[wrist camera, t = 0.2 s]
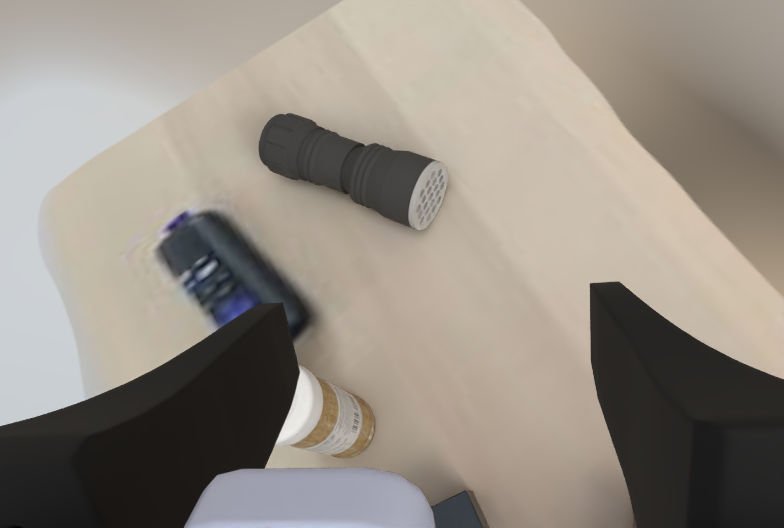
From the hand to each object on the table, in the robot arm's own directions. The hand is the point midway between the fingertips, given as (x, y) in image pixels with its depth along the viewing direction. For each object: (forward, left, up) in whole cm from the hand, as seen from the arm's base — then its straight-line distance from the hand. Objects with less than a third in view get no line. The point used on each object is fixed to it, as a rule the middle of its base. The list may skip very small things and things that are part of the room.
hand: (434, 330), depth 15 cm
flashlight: (+22, +10, -31) cm, 39 cm away
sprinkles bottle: (+2, +12, -31) cm, 33 cm away
